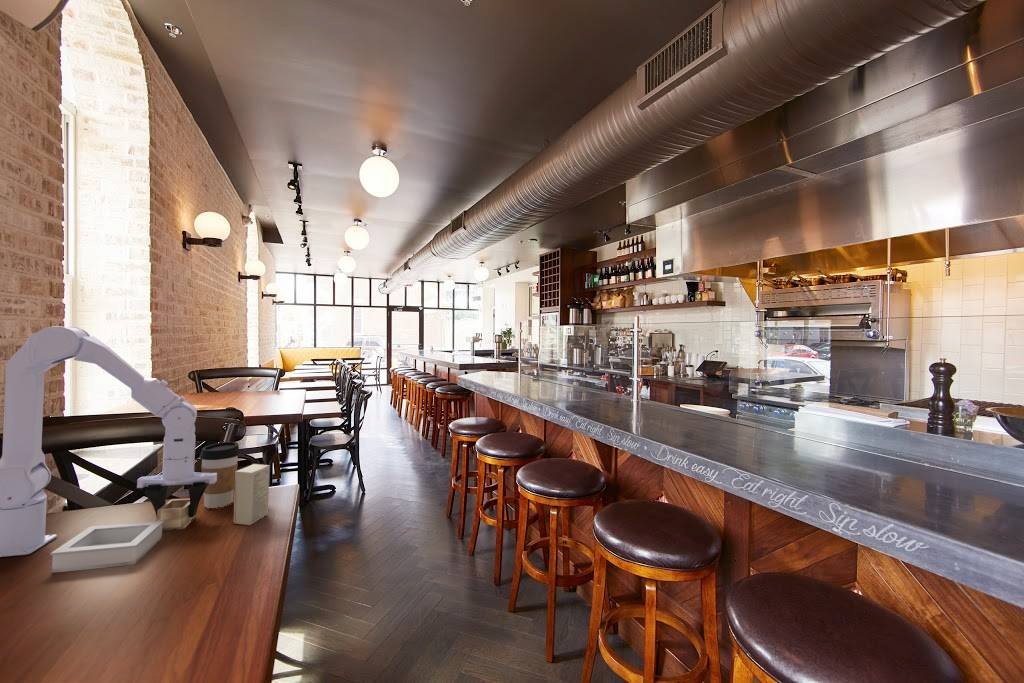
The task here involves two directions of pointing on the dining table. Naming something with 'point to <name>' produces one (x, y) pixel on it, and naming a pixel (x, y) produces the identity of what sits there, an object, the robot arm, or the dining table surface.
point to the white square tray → (107, 546)
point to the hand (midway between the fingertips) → (177, 516)
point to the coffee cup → (220, 472)
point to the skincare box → (251, 493)
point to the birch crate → (175, 514)
